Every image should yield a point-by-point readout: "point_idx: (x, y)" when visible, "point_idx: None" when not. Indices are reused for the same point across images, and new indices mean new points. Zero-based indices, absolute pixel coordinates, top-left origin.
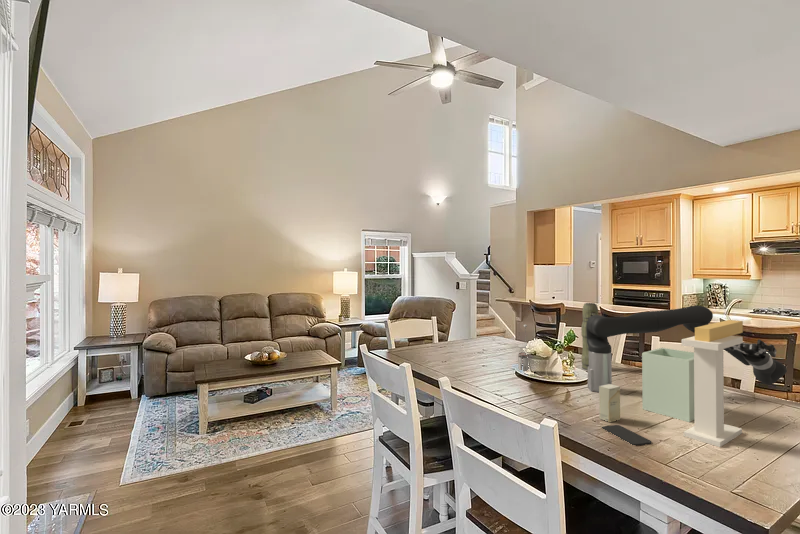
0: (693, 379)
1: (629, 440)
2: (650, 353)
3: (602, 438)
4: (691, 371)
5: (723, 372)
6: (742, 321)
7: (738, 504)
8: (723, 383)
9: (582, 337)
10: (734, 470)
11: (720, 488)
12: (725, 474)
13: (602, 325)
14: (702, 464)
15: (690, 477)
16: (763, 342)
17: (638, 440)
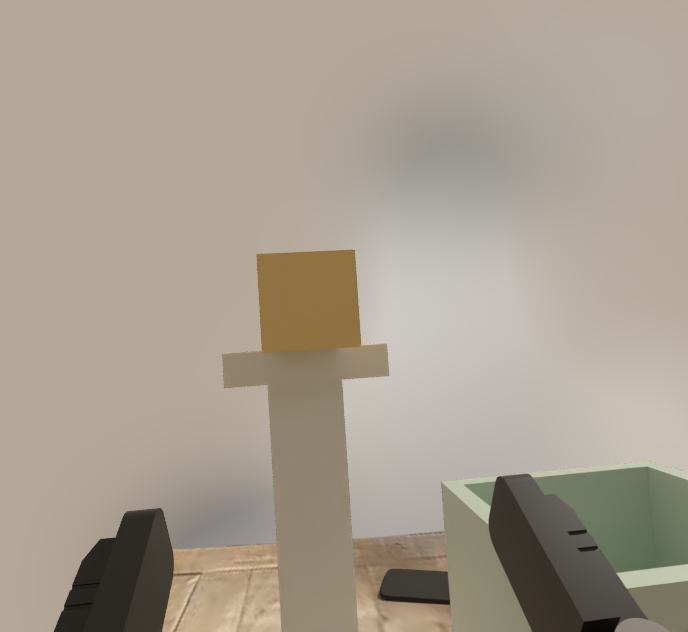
0: (466, 615)
1: (407, 572)
2: (677, 485)
3: (443, 557)
4: (454, 553)
5: (273, 486)
6: (257, 257)
7: (186, 560)
8: (276, 531)
9: None
10: (209, 621)
11: (215, 570)
12: (219, 601)
13: None
14: (264, 601)
15: (260, 565)
16: (85, 569)
17: (399, 582)
